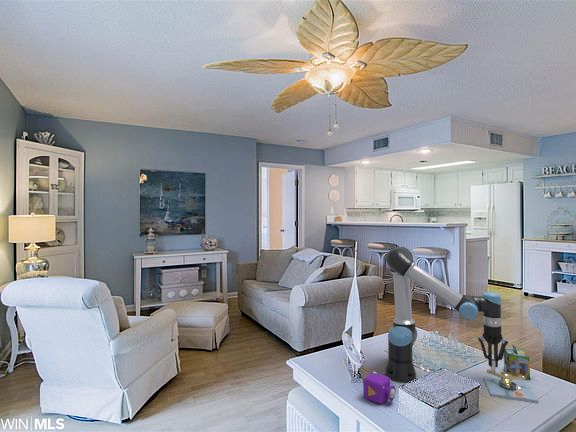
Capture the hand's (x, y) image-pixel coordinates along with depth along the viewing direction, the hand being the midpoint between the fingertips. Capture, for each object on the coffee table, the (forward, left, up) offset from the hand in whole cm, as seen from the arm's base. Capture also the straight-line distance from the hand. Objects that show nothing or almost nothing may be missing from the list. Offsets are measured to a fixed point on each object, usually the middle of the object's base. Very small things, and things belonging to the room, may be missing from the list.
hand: (493, 373), depth 164 cm
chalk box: (+13, +13, -5) cm, 19 cm away
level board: (+5, -6, -5) cm, 9 cm away
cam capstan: (+4, -6, -3) cm, 7 cm away
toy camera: (-51, -33, -5) cm, 61 cm away
